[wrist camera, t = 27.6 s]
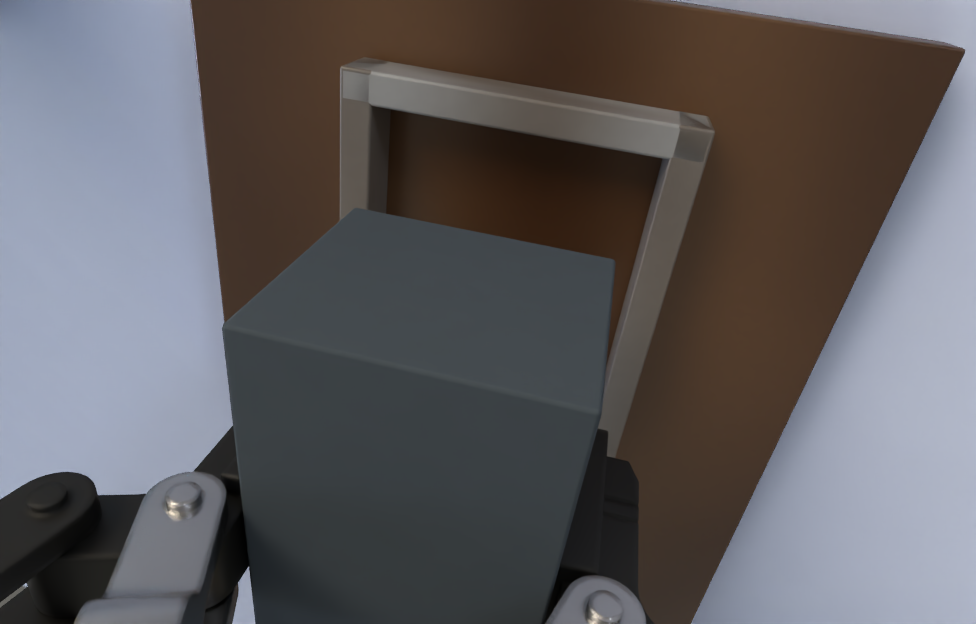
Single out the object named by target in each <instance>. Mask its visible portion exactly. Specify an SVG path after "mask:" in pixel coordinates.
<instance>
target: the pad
mask: <svg viewBox="0 0 976 624" xmlns="http://www.w3.org/2000/svg"><path fill="white" fill-rule="evenodd" d="M615 265H616V263H615V260H613V259H609V258H604V257H599V256H594V255H589V254H584V253H579V252H574V251H569V250H564V249H559V248H554V247H550V246H545V245H540V244H535V243H530V242H525V241H520V240H515V239H510V238H505V237H500V236H495V235H490V234H485V233H480V232H475V231H470V230H465V229H460V228H455V227H450V226H445V225H440V224H435V223H430V222H425V221H420V220H415V219H410V218H405V217H400V216H395V215H390V214H385V213H380V212H375V211H370V210H365V209H360V208H354V209H353V210H352V211H350V212H349V213H348V214H347V215H346V216H345V217H344V218H343V219H341V220H340V221H339V222H338V223H337V224H336V225H335V226H333V227H332V228H331V229H330V230H329V231H328V232H327V233H326V234H324V235H323V236H322V237H321V238H320V239H319V240H318V241H317V242H315V243H314V244H313V245H312V246H311V247H310V248H309V249H308V250H306V251H305V252H304V253H303V254H302V255H301V256H300V257H298V258H297V259H296V260H295V261H294V262H293V263H292V264H291V265H289V266H288V267H287V268H286V269H285V270H284V271H283V272H282V273H280V274H279V275H278V276H277V277H276V278H275V279H274V280H273V281H271V282H270V283H269V284H268V285H267V286H266V287H265V288H263V289H262V290H261V291H260V292H259V293H258V294H257V295H256V296H254V297H253V298H252V299H251V300H250V301H249V302H248V303H247V304H245V305H244V306H243V307H242V308H241V309H240V310H239V311H238V312H236V313H235V314H234V315H233V316H232V317H231V318H230V319H228V320H227V321H226V322H225V323H224V325H223V327H222V331H223V340H224V349H225V358H226V367H227V375H228V384H229V393H230V402H231V411H232V419H233V428H234V437H235V446H236V455H237V464H238V472H239V481H240V490H241V499H242V508H243V517H244V525H245V534H246V543H247V552H248V561H249V569H250V578H251V587H252V596H253V605H254V614H255V622H256V624H544V621H545V617H546V614H547V610H548V607H549V603H550V599H551V596H552V592H553V588H554V585H555V581H556V578H557V574H558V570H559V567H560V563H561V559H562V556H563V552H564V549H565V545H566V541H567V538H568V534H569V530H570V527H571V523H572V520H573V516H574V512H575V509H576V505H577V502H578V498H579V494H580V491H581V487H582V483H583V480H584V476H585V473H586V469H587V465H588V462H589V458H590V454H591V451H592V447H593V444H594V440H595V436H596V433H597V429H598V426H599V422H600V418H601V415H602V406H603V395H604V384H605V373H606V362H607V351H608V341H609V330H610V319H611V308H612V297H613V286H614V276H615Z"/></svg>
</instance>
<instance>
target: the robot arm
mask: <svg viewBox="0 0 976 624" xmlns="http://www.w3.org/2000/svg"><path fill="white" fill-rule="evenodd" d="M607 447H608V431H607V430H602V429H597V433H596V436H595V440H594V444H593V447H592V451H591V454H590V458H589V462H588V465H587V469H586V473H585V476H584V480H583V483H582V487H581V491H580V494H579V498H578V502H577V505H576V509H575V512H574V516H573V520H572V523H571V527H570V530H569V534H568V538H567V541H566V545H565V549H564V552H563V556H562V559H561V563H560V567H559V570H558V574H557V578H556V581H555V585H554V588H553V592H552V596H551V599H550V603H549V607H548V610H547V614H546V617H545V621H544V624H654V623H653V622H652V620H651V619H650V618H649V616H648V615H647V613H646V611H645V610H644V608H643V606H642V603H641V601H640V597H639V592H638V535H639V524H638V520H639V507H638V504H639V481H638V479H637V477H636V475H635V473H634V471H633V469H632V467H631V465H630V463H629V461H625V460H621V459H617V458H613V457H608V456H607ZM248 566H249V561H248V552H247V543H246V534H245V525H244V517H243V508H242V499H241V490H240V481H239V472H238V464H237V455H236V446H235V437H234V428H233V426H232V427H231V428H230V430H229V431H228V432H227V433H226V434H225V435H224V437H223V438H222V439H221V440H220V441H219V442H218V444H217V445H216V446H215V447H214V448H213V449H212V450H211V452H210V453H209V454H208V455H207V456H206V457H205V459H204V460H203V461H202V462H201V463H200V464H199V466H198V467H197V468H196V469H195V470H194V471H193V472H185V473H180V474H176V475H173V476H170V477H168V478H166V479H164V480H162V481H160V482H159V483H157V484H156V485H155V486H153V487H152V488H151V489H150V490H149V491H148V492H147V494H138V495H98V494H97V491H96V487H95V485H94V483H93V481H92V480H91V479H90V478H88V477H87V476H85V475H82V474H79V473H73V472H60V473H53V474H49V475H45V476H42V477H39V478H36V479H34V480H32V481H30V482H28V483H26V484H24V485H23V486H21V487H19V488H18V489H16V490H15V491H13V492H11V493H10V494H8V495H7V496H5V497H4V498H2V499H0V602H1V601H2V600H4V599H5V598H6V597H8V596H9V595H10V594H12V593H13V592H14V591H16V590H17V589H18V588H20V587H21V586H22V585H24V584H25V583H27V585H28V587H27V588H26V589H24V590H23V591H22V592H20V593H19V594H18V595H16V596H15V597H14V598H12V599H11V600H10V601H9V602H7V603H6V604H5V605H3V606H2V607H1V608H0V624H232V621H233V617H234V612H235V607H236V602H237V597H238V582H239V580H240V579H241V577H242V576H243V574H244V572H245V571H246V569H247V568H248Z"/></svg>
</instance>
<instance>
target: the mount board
mask: <svg viewBox="0 0 976 624" xmlns="http://www.w3.org/2000/svg"><path fill="white" fill-rule="evenodd" d="M190 7H191V17H192V26H193V35H194V45H195V54H196V63H197V72H198V82H199V91H200V100H201V109H202V119H203V128H204V137H205V147H206V156H207V165H208V174H209V184H210V193H211V202H212V212H213V221H214V230H215V239H216V249H217V258H218V267H219V277H220V286H221V295H222V304H223V314H224V323H225V322H226V321H227V320H228V319H230V318H231V317H232V316H233V315H234V314H235V313H236V312H238V311H239V310H240V309H241V308H242V307H243V306H244V305H245V304H247V303H248V302H249V301H250V300H251V299H252V298H253V297H254V296H256V295H257V294H258V293H259V292H260V291H261V290H262V289H263V288H265V287H266V286H267V285H268V284H269V283H270V282H271V281H273V280H274V279H275V278H276V277H277V276H278V275H279V274H280V273H282V272H283V271H284V270H285V269H286V268H287V267H288V266H289V265H291V264H292V263H293V262H294V261H295V260H296V259H297V258H298V257H300V256H301V255H302V254H303V253H304V252H305V251H306V250H308V249H309V248H310V247H311V246H312V245H313V244H314V243H315V242H317V241H318V240H319V239H320V238H321V237H322V236H323V235H324V234H326V233H327V232H328V231H329V230H330V229H331V228H332V227H333V226H335V225H336V224H337V223H338V222H339V221H340V220H341V219H343V218H344V217H345V216H346V215H347V214H348V213H349V212H350V211H352V210H353V209H354V208H360V209H365V210H370V211H375V212H380V213H385V214H390V215H395V216H400V217H405V218H410V219H415V220H420V221H425V222H430V223H435V224H440V225H445V226H450V227H455V228H460V229H465V230H470V231H475V232H480V233H485V234H490V235H495V236H500V237H505V238H510V239H515V240H520V241H525V242H530V243H535V244H540V245H545V246H550V247H554V248H559V249H564V250H569V251H574V252H579V253H584V254H589V255H594V256H599V257H604V258H609V259H613V260H615V263H616V265H615V276H614V286H613V297H612V308H611V319H610V330H609V341H608V351H607V362H606V373H605V384H604V395H603V406H602V415H601V418H600V422H599V426H598V429H602V430H607V431H608V447H607V456H608V457H613V458H617V459H621V460H625V461H629V463H630V465H631V467H632V469H633V471H634V473H635V475H636V477H637V479H638V481H639V504H638V507H639V520H638V524H639V535H638V592H639V597H640V601H641V603H642V606H643V608H644V610H645V611H646V613H647V615H648V616H649V618H650V619H651V620H652V622H653V623H654V624H691V622H692V620H693V617H694V615H695V613H696V611H697V609H698V607H699V605H700V603H701V601H702V599H703V597H704V595H705V592H706V590H707V588H708V586H709V584H710V582H711V580H712V578H713V576H714V574H715V572H716V570H717V568H718V565H719V563H720V561H721V559H722V557H723V555H724V553H725V551H726V549H727V547H728V545H729V543H730V540H731V538H732V536H733V534H734V532H735V530H736V528H737V526H738V524H739V522H740V520H741V518H742V515H743V513H744V511H745V509H746V507H747V505H748V503H749V501H750V499H751V497H752V495H753V493H754V490H755V488H756V486H757V484H758V482H759V480H760V478H761V476H762V474H763V472H764V470H765V468H766V466H767V463H768V461H769V459H770V457H771V455H772V453H773V451H774V449H775V447H776V445H777V443H778V441H779V438H780V436H781V434H782V432H783V430H784V428H785V426H786V424H787V422H788V420H789V418H790V416H791V413H792V411H793V409H794V407H795V405H796V403H797V401H798V399H799V397H800V395H801V393H802V391H803V388H804V386H805V384H806V382H807V380H808V378H809V376H810V374H811V372H812V370H813V368H814V366H815V364H816V361H817V359H818V357H819V355H820V353H821V351H822V349H823V347H824V345H825V343H826V341H827V339H828V336H829V334H830V332H831V330H832V328H833V326H834V324H835V322H836V320H837V318H838V316H839V314H840V311H841V309H842V307H843V305H844V303H845V301H846V299H847V297H848V295H849V293H850V291H851V289H852V286H853V284H854V282H855V280H856V278H857V276H858V274H859V272H860V270H861V268H862V266H863V264H864V261H865V259H866V257H867V255H868V253H869V251H870V249H871V247H872V245H873V243H874V241H875V239H876V237H877V234H878V232H879V230H880V228H881V226H882V224H883V222H884V220H885V218H886V216H887V214H888V212H889V209H890V207H891V205H892V203H893V201H894V199H895V197H896V195H897V193H898V191H899V189H900V187H901V184H902V182H903V180H904V178H905V176H906V174H907V172H908V170H909V168H910V166H911V164H912V162H913V159H914V157H915V155H916V153H917V151H918V149H919V147H920V145H921V143H922V141H923V139H924V137H925V135H926V132H927V130H928V128H929V126H930V124H931V122H932V120H933V118H934V116H935V114H936V112H937V110H938V107H939V105H940V103H941V101H942V99H943V97H944V95H945V93H946V91H947V89H948V87H949V85H950V82H951V80H952V78H953V76H954V74H955V72H956V70H957V68H958V66H959V64H960V62H961V60H962V57H963V55H964V53H965V49H963V48H961V47H957V46H954V45H951V44H948V43H944V42H939V41H933V40H926V39H920V38H913V37H907V36H900V35H893V34H887V33H880V32H874V31H867V30H861V29H854V28H848V27H841V26H835V25H828V24H821V23H815V22H808V21H802V20H795V19H789V18H782V17H776V16H769V15H763V14H756V13H749V12H743V11H736V10H730V9H723V8H717V7H710V6H704V5H697V4H690V3H684V2H677V1H671V0H190Z"/></svg>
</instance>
